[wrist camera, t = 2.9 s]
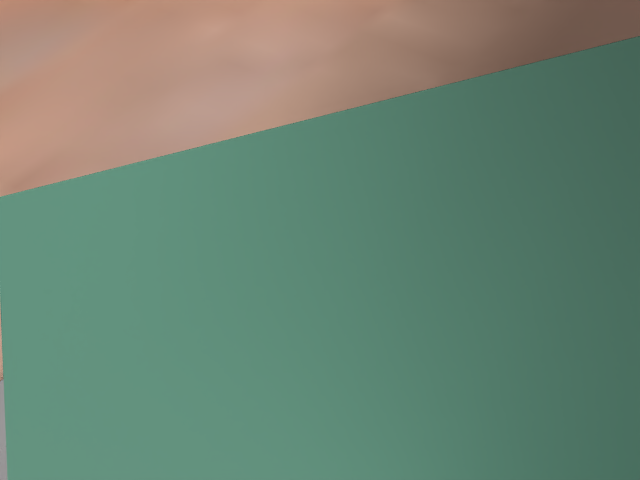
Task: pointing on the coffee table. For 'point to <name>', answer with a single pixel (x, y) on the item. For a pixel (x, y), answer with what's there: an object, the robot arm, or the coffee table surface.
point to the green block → (344, 294)
